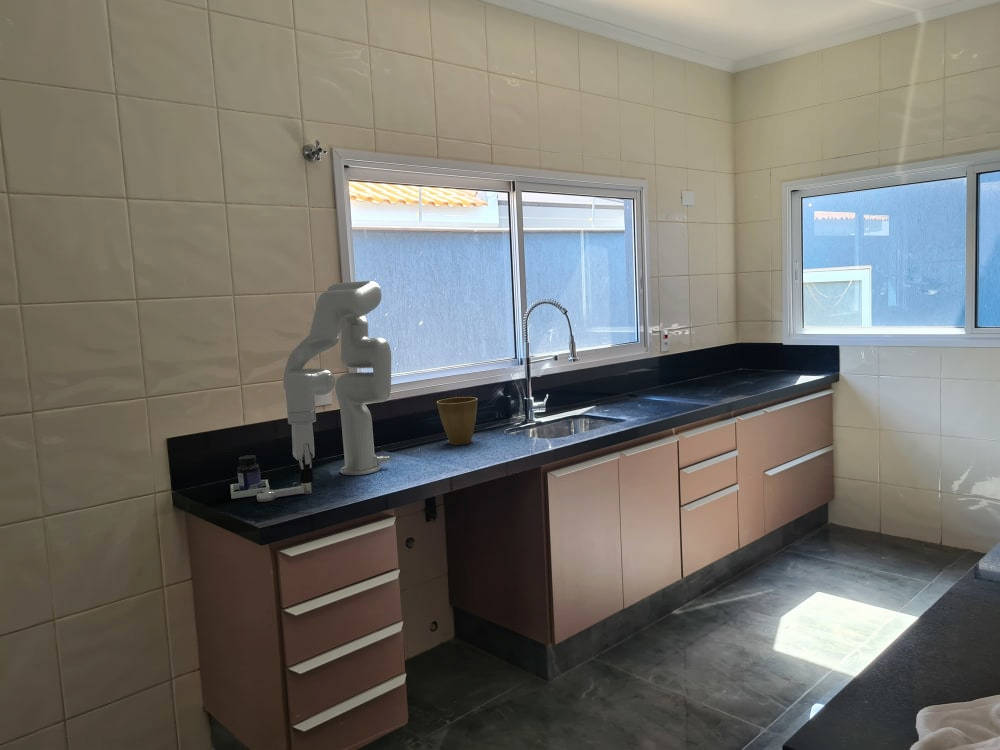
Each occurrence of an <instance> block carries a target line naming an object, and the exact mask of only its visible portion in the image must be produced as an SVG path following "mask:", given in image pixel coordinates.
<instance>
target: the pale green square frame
mask: <svg viewBox="0 0 1000 750" xmlns="http://www.w3.org/2000/svg"><path fill="white" fill-rule="evenodd" d="M261 487H262V488H259V489H252V490H245V491H240V489H239V483H232V484H230V497H231V499H232V500H233V499H238V498H246V497H253V496H257V492H259V491H263V490H271V488H270V485H269V479H261ZM237 490H238V491H237Z"/></svg>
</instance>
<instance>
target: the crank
mask: <svg viewBox="0 0 1000 750" xmlns="http://www.w3.org/2000/svg"><path fill="white" fill-rule="evenodd" d="M300 484H301V485H299V486H293V487H292V486H291V487H285V488H279V489H270V490H263V491H259V492H257V495H256V500H257V502H259V503H261V502H262V503H264V502H265V503H266V502H271V501H274V500H276V499H277V498H279V497H288V496H293V495H299V494H300V495H301V494H302V495H310V494H312V493H313V491H312V490H313V489H312V483H304V484H302V483H301V482H300Z"/></svg>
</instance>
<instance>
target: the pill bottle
mask: <svg viewBox="0 0 1000 750" xmlns="http://www.w3.org/2000/svg"><path fill="white" fill-rule="evenodd" d="M256 461H257V457H256V455H254V454H253V455H249V454H248V455H243V456H239V457H238V463H239V465H238V466H237V469H236V470H237V471H236V472H237V478H238V479H237V480H238V484H239V491H245V490H252V489H259V488H263V486H261V480H262V479H261V469H260V465H259V463H257V462H256Z"/></svg>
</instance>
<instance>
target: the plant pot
mask: <svg viewBox="0 0 1000 750" xmlns="http://www.w3.org/2000/svg"><path fill="white" fill-rule="evenodd" d="M436 404H437V405H436V407H437V409H438V415H439V418H440V421H441V424H442V427H443V429H444V432H445V434H446V437H447V440H448V441H449V443H450V445H452V446H453V445H454V446H462V445H467V444H471V442H472V439H473V434H474V431H475V426H476V420H477V413H478V412H477V411H478V398H477V397H473V396H466V397H465V396H462V397H460V396H459V397H451V398H445V399H440V400H437V401H436Z"/></svg>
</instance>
